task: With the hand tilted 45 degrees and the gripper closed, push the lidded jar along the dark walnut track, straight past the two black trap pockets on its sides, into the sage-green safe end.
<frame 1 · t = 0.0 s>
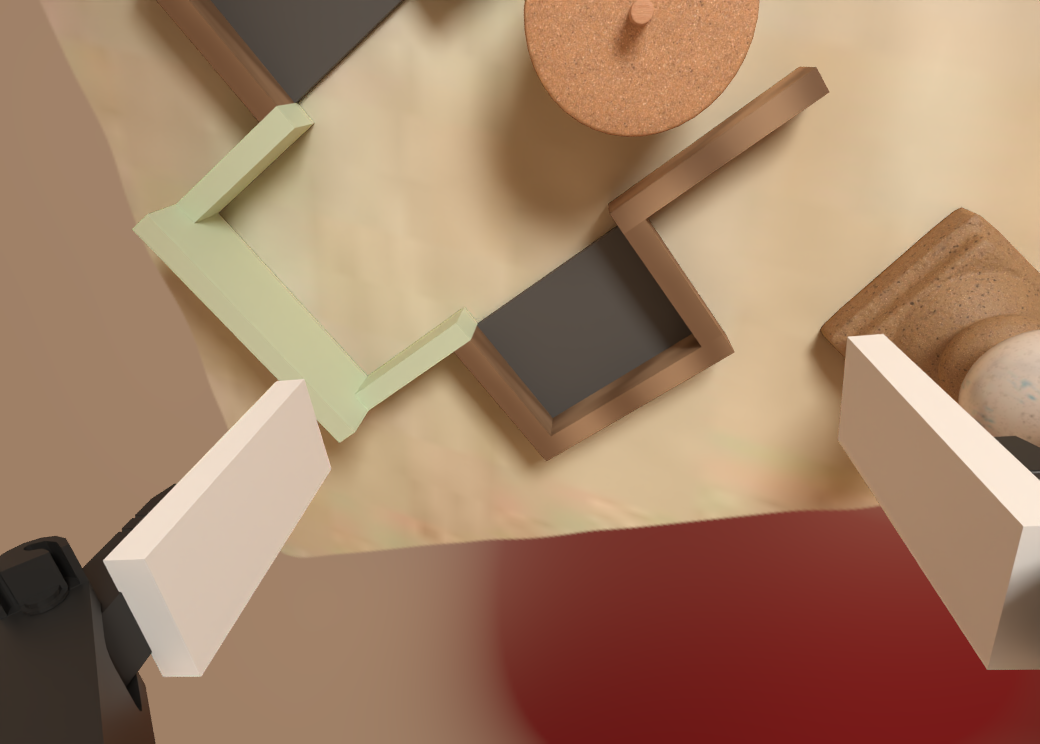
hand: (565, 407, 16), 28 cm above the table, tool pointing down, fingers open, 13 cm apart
candle holder: (938, 320, 43), on the table
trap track: (474, 153, 40), on the table
lidded jar: (629, 22, 37), on the table
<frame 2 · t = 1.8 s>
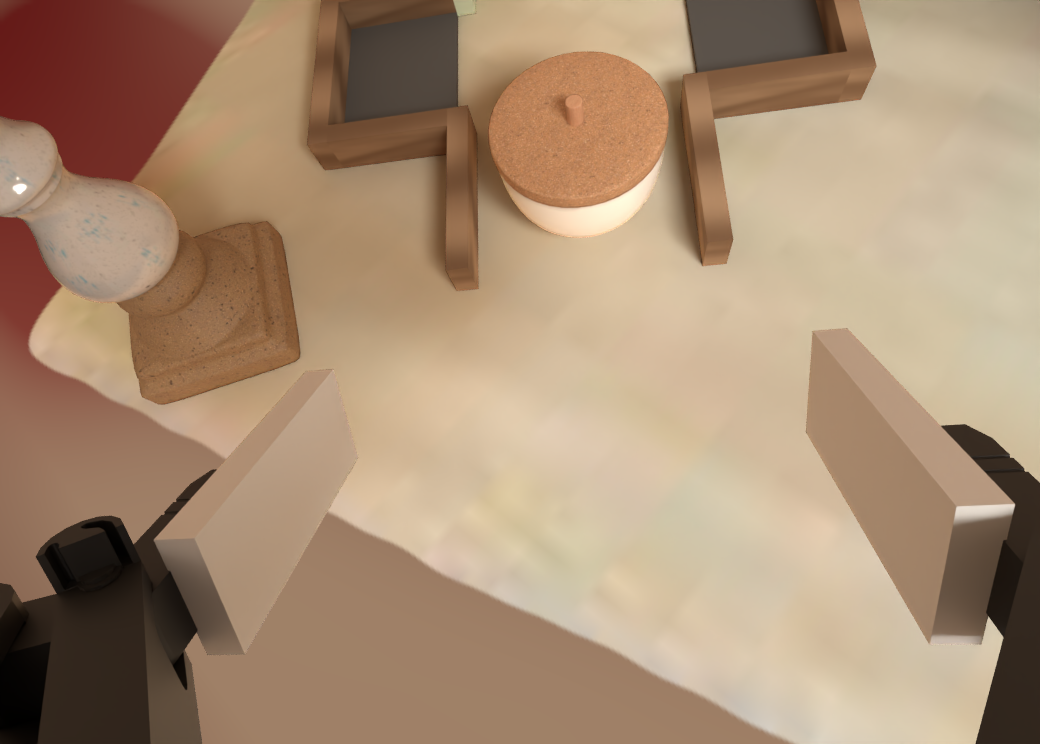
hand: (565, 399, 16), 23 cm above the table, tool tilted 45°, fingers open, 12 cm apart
candle holder: (223, 317, 47), on the table
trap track: (572, 67, 49), on the table
lidded jar: (584, 198, 46), on the table
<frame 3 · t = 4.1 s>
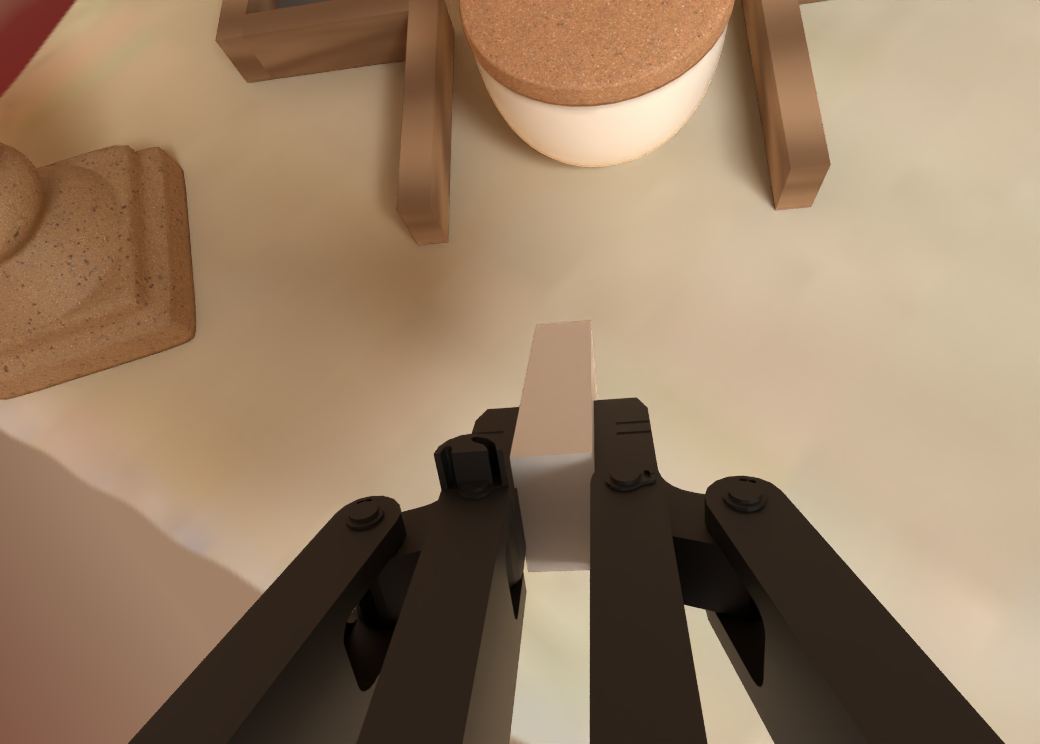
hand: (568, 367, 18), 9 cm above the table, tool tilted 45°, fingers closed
candle holder: (97, 280, 34), on the table
lidded jar: (602, 117, 32), on the table
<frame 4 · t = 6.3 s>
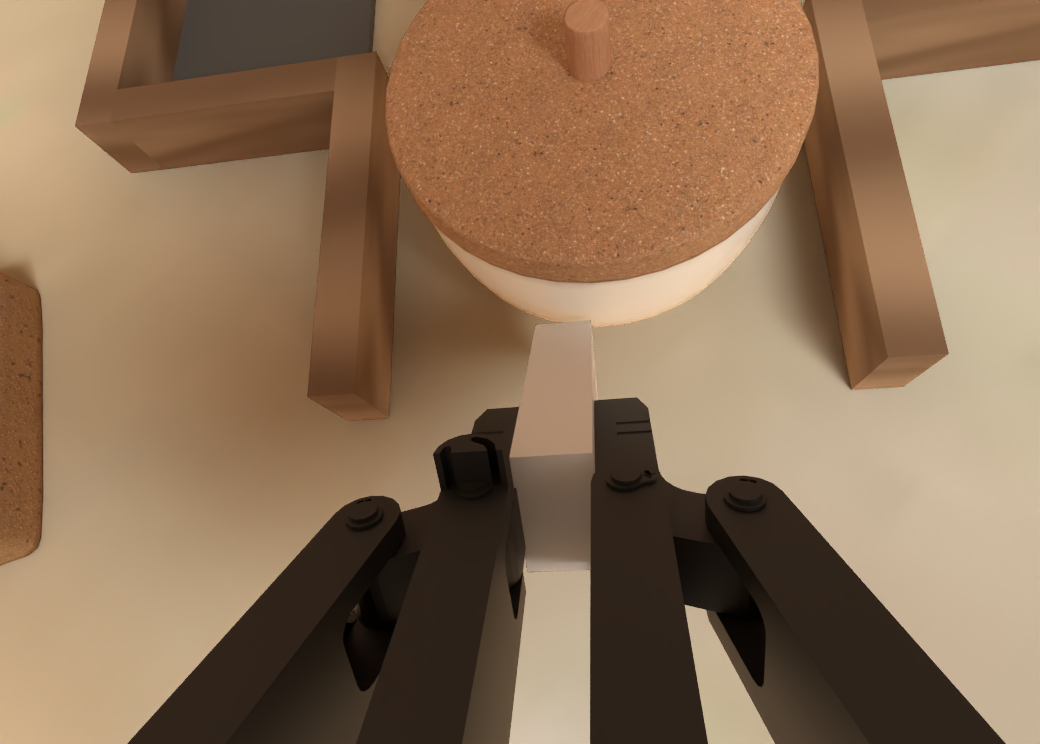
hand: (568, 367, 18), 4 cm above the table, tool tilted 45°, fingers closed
lidded jar: (602, 234, 23), on the table, touching gripper
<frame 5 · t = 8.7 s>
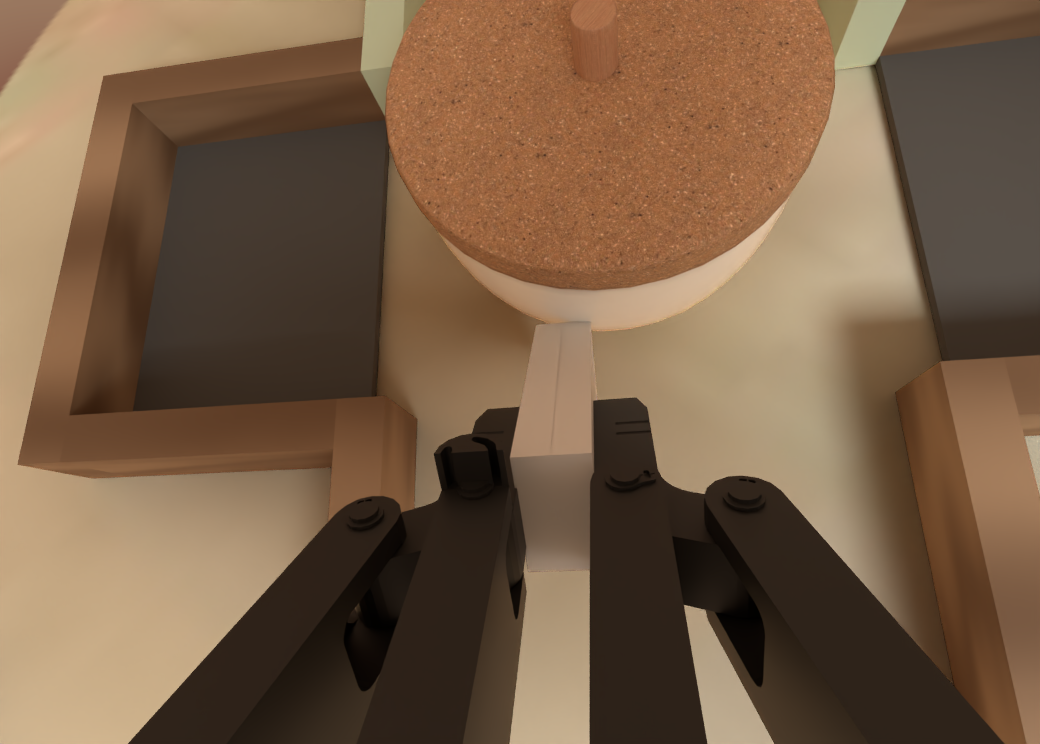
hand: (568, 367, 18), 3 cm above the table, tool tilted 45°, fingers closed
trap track: (632, 265, 22), on the table
lidded jar: (608, 234, 23), on the table, touching gripper
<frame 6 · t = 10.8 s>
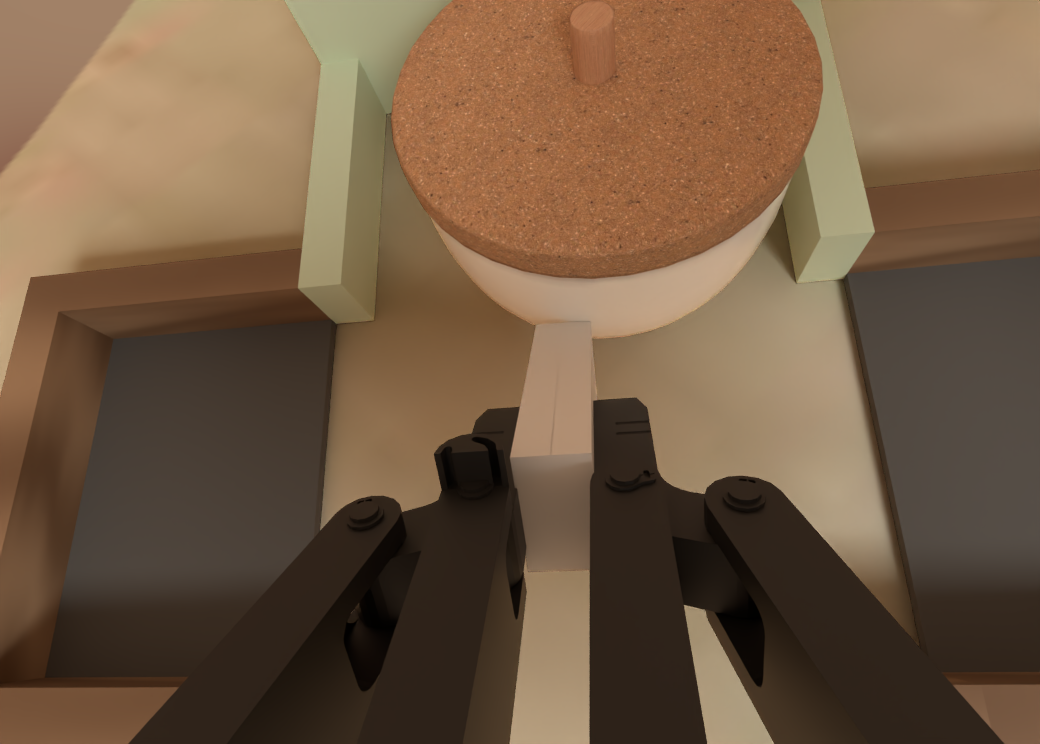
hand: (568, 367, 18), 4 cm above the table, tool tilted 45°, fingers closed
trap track: (586, 501, 21), on the table
lidded jar: (606, 254, 23), on the table, touching gripper
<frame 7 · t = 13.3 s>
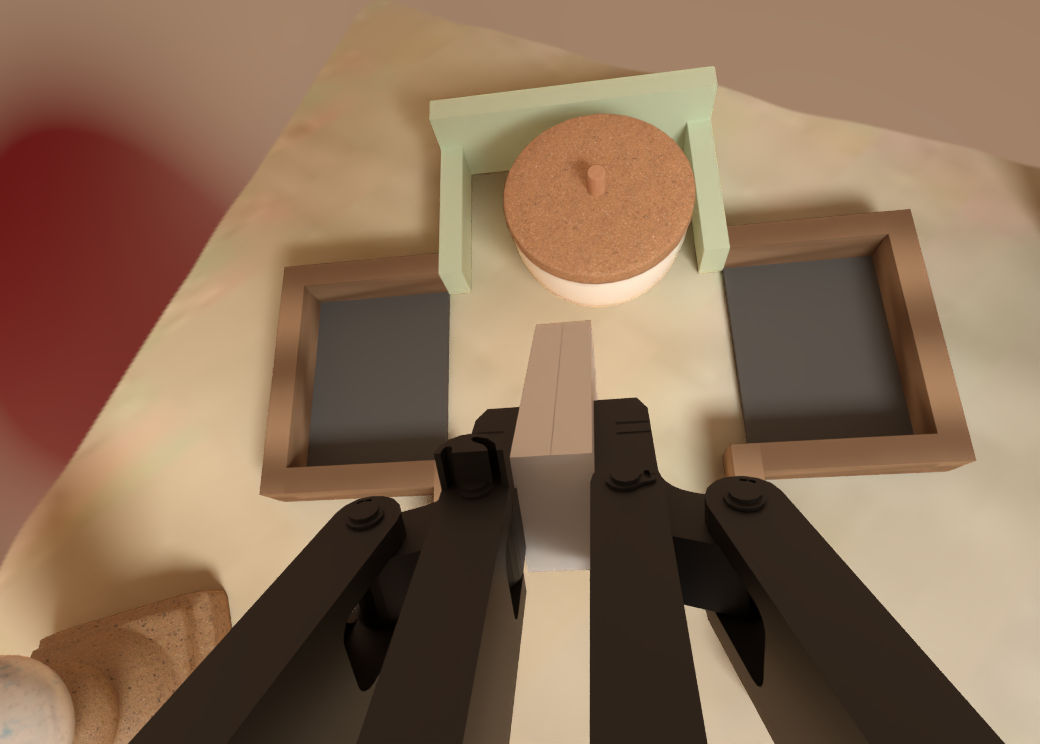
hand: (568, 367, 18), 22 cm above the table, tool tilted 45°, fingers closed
candle holder: (151, 707, 38), on the table
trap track: (588, 383, 40), on the table
lidded jar: (600, 260, 43), on the table
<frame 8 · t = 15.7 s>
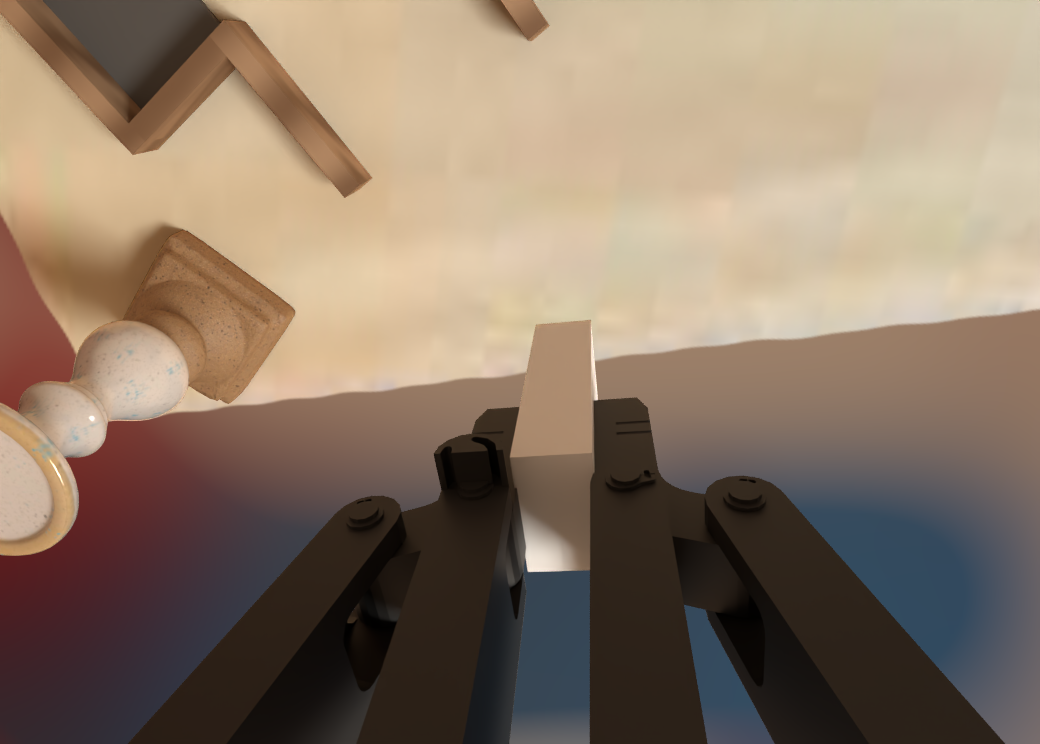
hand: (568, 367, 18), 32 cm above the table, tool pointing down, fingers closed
candle holder: (213, 316, 55), on the table
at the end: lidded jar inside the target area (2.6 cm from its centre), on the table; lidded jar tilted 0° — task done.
